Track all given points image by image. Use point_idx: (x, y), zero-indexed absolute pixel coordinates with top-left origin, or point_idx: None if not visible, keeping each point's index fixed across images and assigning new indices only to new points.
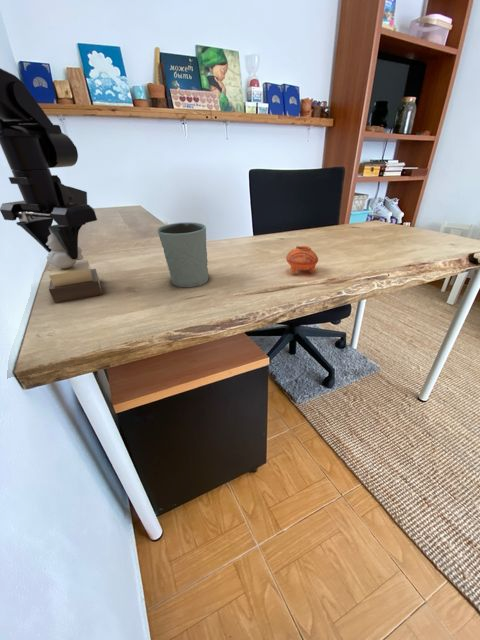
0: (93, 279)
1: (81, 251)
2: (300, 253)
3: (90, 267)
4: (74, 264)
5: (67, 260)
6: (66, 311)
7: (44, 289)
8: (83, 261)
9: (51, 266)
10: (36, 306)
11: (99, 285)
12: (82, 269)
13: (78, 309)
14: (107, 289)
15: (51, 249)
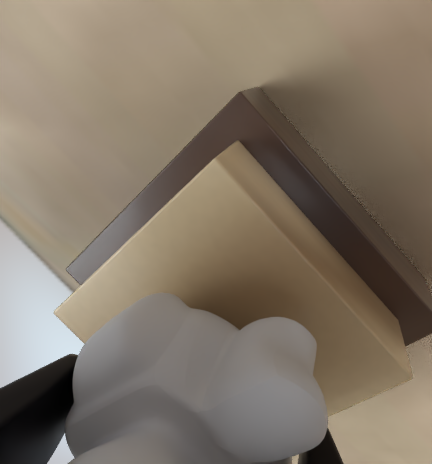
0: (388, 302)
1: (319, 388)
2: None
3: (235, 147)
4: (204, 290)
5: None
6: (358, 441)
7: (66, 257)
8: (218, 214)
9: (84, 339)
10: None
11: (428, 296)
12: (362, 386)
13: (402, 427)
14: (411, 206)
15: (48, 434)
